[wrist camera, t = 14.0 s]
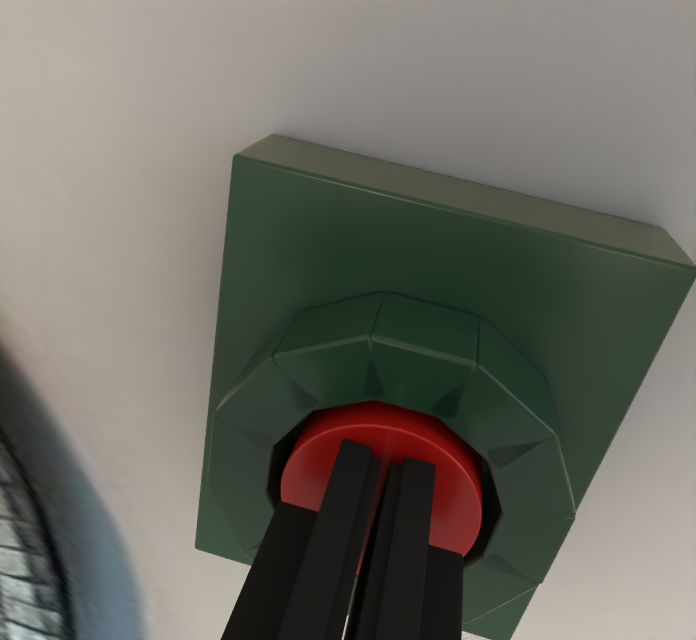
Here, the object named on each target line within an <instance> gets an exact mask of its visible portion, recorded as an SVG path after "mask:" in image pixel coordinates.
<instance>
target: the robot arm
mask: <svg viewBox="0 0 696 640" xmlns="http://www.w3.org/2000/svg"><path fill="white" fill-rule="evenodd" d="M371 450H372V447H371V446H368V445H364V444H361V443H357V442H354V441H350V440H347V439H343V440H342V442H341V445H340V448H339V451H338V454H337V457H336V460H335V463H334V466H333V469H332V472H331V475H330V479H329V482H328V485H327V488H326V491H325V494H324V497H323V500H322V503H321V506H320V509H319V512H317V511H314V510H311V509H307V508H304V507H300V506H297V505H293V504H290V503H287V502H283V501H280V502H279V503H278V505H277V507H276V509H275V511H274V514H273V516H272V518H271V521H270V523H269V525H268V528H267V530H266V533H265V535H264V537H263V540H262V542H261V545H260V547H259V549H258V552H257V554H256V557H255V559H254V561H253V564H252V566H251V568H250V571H249V573H248V576H247V578H246V580H245V583H244V585H243V588H242V590H241V592H240V595H239V597H238V599H237V602H236V604H235V607H234V609H233V611H232V614H231V616H230V619H229V621H228V623H227V626H226V628H225V630H224V633H223V635H222V638H221V640H342V635H343V631H344V626H345V622H346V617H347V613H348V608H349V604H350V600H351V595H352V591H353V586H354V582H355V577H356V573H357V568H358V564H359V559H360V555H361V550H362V546H363V541H364V537H365V533H366V528H367V524H368V519H369V515H370V510H371V506H372V501H373V497H374V492H375V488H376V483H377V479H378V475H379V470H380V466H381V461H382V458H379V457H376V456H372V455H370V454H371ZM435 474H436V465H435V464H432V463H428V462H425V461H421V460H418V459H414V458H410V457H407V456H405V458H404V461H403V464H401V463H397V462H394V461H391V464H390V467H389V470H388V474H387V477H386V481H385V484H384V488H383V491H382V494H381V498H380V501H379V505H378V508H377V511H376V515H375V518H374V522H373V525H372V528H371V532H370V535H369V539H368V542H367V546H366V549H365V552H364V556H363V559H362V563H361V566H360V570H359V574H358V578H357V582H356V586H355V591H354V595H353V600H352V605H351V609H350V614H349V618H348V623H347V627H346V632H345V636H344V640H461V633H462V600H463V568H464V567H463V556H462V554H460V553H457V552H454V551H450V550H447V549H443V548H440V547H437V546H433V545H430V544H429V534H430V524H431V514H432V504H433V494H434V484H435Z"/></svg>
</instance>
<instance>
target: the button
mask: <svg viewBox="0 0 696 640" xmlns="http://www.w3.org/2000/svg"><path fill="white" fill-rule="evenodd" d="M343 439H347V440H350V441H354V442H357V443H361V444H364V445H368V446H371V447H372V450H371V454H370V455H372V456H376V457H379V458H382V461H381V466H380V470H379V475H378V479H377V483H376V488H375V492H374V497H373V501H372V506H371V510H370V515H369V519H368V524H367V528H366V533H365V537H364V541H363V546H362V550H361V555H360V559H359V564H358V568H357V573H356V575H358V574H359V570H360V566H361V563H362V559H363V556H364V552H365V549H366V546H367V542H368V539H369V535H370V532H371V528H372V525H373V522H374V518H375V515H376V511H377V508H378V505H379V501H380V498H381V494H382V491H383V488H384V484H385V481H386V477H387V474H388V470H389V467H390V464H391V461H394V462H397V463H401V464H403V461H404V458H405V456H407V457H410V458H414V459H418V460H421V461H425V462H428V463H432V464H435V465H436V474H435V484H434V494H433V504H432V514H431V524H430V534H429V544H430V545H433V546H437V547H440V548H443V549H447V550H450V551H454V552H457V553H460V554H462V556H463V557H464V556H465V555H466V554H467V552H468V551H469V550H470V548H471V547H472V546H473V544H474V542H475V540H476V538H477V536H478V533H479V530H480V527H481V520H482V456H481V455H480V454H478V453H477V452H476V451H475V450H474V449H473V448H472V447H470V446H469V445H468V444H467V443H466V442H465V441H464V440H462V439H461V438H460V437H459V436H458V435H457V434H456V433H454V432H453V431H452V430H451V429H450V428H449V427H448V426H446V425H445V424H444V423H443V422H442V421H441V420H440V419H438V418H437V417H434V416H430V415H427V414H423V413H419V412H416V411H412V410H408V409H405V408H401V407H398V406H394V405H390V404H387V403H383V402H380V401H376V400H371V401H366V402H360V403H354V404H349V405H343V406H338V407H332V408H326V409H321V410H315V411H313V412H312V413H311V414H310V415H308V416H307V418H306V421H305V423H304V425H303V427H302V430H301V432H300V434H299V436H298V439H297V441H296V443H295V446H294V448H293V450H292V452H291V455H290V457H289V459H288V461H287V464H286V466H285V468H284V471H283V475H282V479H281V500H282V501H283V502H287V503H290V504H293V505H297V506H300V507H304V508H307V509H311V510H314V511H317V512H319V509H320V506H321V503H322V500H323V497H324V494H325V491H326V488H327V485H328V482H329V479H330V475H331V472H332V469H333V466H334V463H335V460H336V457H337V454H338V451H339V448H340V445H341V442H342V440H343Z"/></svg>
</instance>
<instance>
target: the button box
mask: <svg viewBox="0 0 696 640" xmlns="http://www.w3.org/2000/svg"><path fill="white" fill-rule="evenodd" d="M695 278H696V265H695V264H694V262H693V261H692V260H691V259H690V258H689V257H688V255H687V254H686V253H685V252H684V251H683V250H682V248H681V247H680V246H679V245H678V244H677V243H676V242H675V240H674V239H673V238H672V237H671V236H670V235H669V233H668V232H667V231H666V230H665V229H664V228H661V227H657V226H653V225H649V224H644V223H640V222H636V221H632V220H628V219H624V218H619V217H615V216H611V215H607V214H603V213H599V212H595V211H590V210H586V209H582V208H578V207H574V206H570V205H566V204H561V203H557V202H553V201H549V200H545V199H541V198H536V197H532V196H528V195H524V194H520V193H516V192H512V191H507V190H503V189H499V188H495V187H491V186H487V185H483V184H478V183H474V182H470V181H466V180H462V179H458V178H453V177H449V176H445V175H441V174H437V173H433V172H429V171H424V170H420V169H416V168H412V167H408V166H404V165H400V164H395V163H391V162H387V161H383V160H379V159H375V158H370V157H366V156H362V155H358V154H354V153H350V152H346V151H341V150H337V149H333V148H329V147H325V146H321V145H316V144H312V143H308V142H304V141H300V140H296V139H292V138H287V137H283V136H279V135H275V134H271V135H269V136H267V137H265V138H264V139H262V140H260V141H258V142H256V143H255V144H253V145H251V146H249V147H247V148H245V149H244V150H242V151H240V152H238V153H236V154H234V156H233V161H232V171H231V182H230V192H229V202H228V212H227V222H226V233H225V243H224V253H223V263H222V274H221V284H220V294H219V304H218V315H217V325H216V335H215V345H214V356H213V366H212V376H211V386H210V397H209V407H208V417H207V427H206V437H205V448H204V458H203V468H202V478H201V489H200V499H199V509H198V519H197V530H196V540H195V548H196V549H198V550H201V551H204V552H207V553H211V554H214V555H217V556H220V557H224V558H227V559H230V560H233V561H237V562H240V563H243V564H246V565H250V566H252V564H253V561H254V559H255V557H256V554H257V552H258V549H259V547H260V545H261V542H262V540H263V537H264V535H265V533H266V530H267V528H268V525H269V523H270V521H271V518H272V516H273V514H274V511H275V509H276V507H277V505H278V503H279V502H280V501H282V500H281V479H282V475H283V471H284V468H285V466H286V464H287V461H288V459H289V457H290V455H291V452H292V450H293V448H294V446H295V443H296V441H297V439H298V436H299V434H300V432H301V430H302V427H303V425H304V423H305V421H306V418H307V416H308V415H310V414H311V413H312V412H313V411H315V410H321V409H326V408H332V407H338V406H343V405H349V404H354V403H360V402H366V401H371V400H376V401H380V402H383V403H387V404H390V405H394V406H398V407H401V408H405V409H408V410H412V411H416V412H419V413H423V414H427V415H430V416H434V417H437V418H438V419H440V420H441V421H442V422H443V423H444V424H445V425H446V426H448V427H449V428H450V429H451V430H452V431H453V432H454V433H456V434H457V435H458V436H459V437H460V438H461V439H462V440H464V441H465V442H466V443H467V444H468V445H469V446H470V447H472V448H473V449H474V450H475V451H476V452H477V453H478V454H480V455H481V456H482V520H481V527H480V530H479V533H478V536H477V538H476V540H475V542H474V544H473V546H472V547H471V548H470V550H469V551H468V552H467V554H466V555H465V556H464V557H463V567H464V568H463V600H462V631H464V632H468V633H471V634H474V635H477V636H481V637H484V638H487V639H490V640H510V639H511V637H512V635H513V633H514V632H515V630H516V628H517V626H518V624H519V622H520V620H521V618H522V616H523V614H524V612H525V610H526V608H527V606H528V604H529V602H530V600H531V598H532V596H533V594H534V592H535V591H536V589H537V587H538V585H539V584H541V583H542V582H543V580H544V578H545V576H546V575H547V573H548V571H549V569H550V567H551V565H552V563H553V561H554V559H555V557H556V555H557V553H558V551H559V549H560V547H561V545H562V544H563V542H564V540H565V538H566V536H567V534H568V532H569V530H570V528H571V526H572V524H573V522H574V520H575V515H576V511H577V509H578V507H579V505H580V503H581V501H582V499H583V497H584V495H585V493H586V491H587V489H588V487H589V485H590V483H591V481H592V479H593V477H594V475H595V473H596V472H597V470H598V468H599V466H600V464H601V462H602V460H603V458H604V456H605V454H606V452H607V450H608V448H609V446H610V444H611V442H612V440H613V438H614V436H615V434H616V432H617V431H618V429H619V427H620V425H621V423H622V421H623V419H624V417H625V415H626V413H627V411H628V409H629V407H630V405H631V403H632V401H633V399H634V397H635V395H636V393H637V392H638V390H639V388H640V386H641V384H642V382H643V380H644V378H645V376H646V374H647V372H648V370H649V368H650V366H651V364H652V362H653V360H654V358H655V356H656V354H657V352H658V351H659V349H660V347H661V345H662V343H663V341H664V339H665V337H666V335H667V333H668V331H669V329H670V327H671V325H672V323H673V321H674V319H675V317H676V315H677V313H678V312H679V310H680V308H681V306H682V304H683V302H684V300H685V298H686V296H687V294H688V292H689V290H690V288H691V286H692V284H693V282H694V280H695ZM357 578H358V575H356V577H355V582H354V586H353V591H352V595H351V600H350V604H349V608H348V613H347V615H349V614H350V609H351V605H352V600H353V595H354V591H355V586H356V582H357Z"/></svg>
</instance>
